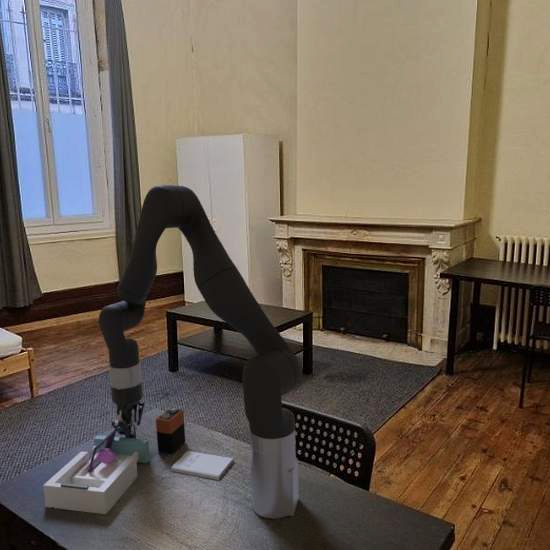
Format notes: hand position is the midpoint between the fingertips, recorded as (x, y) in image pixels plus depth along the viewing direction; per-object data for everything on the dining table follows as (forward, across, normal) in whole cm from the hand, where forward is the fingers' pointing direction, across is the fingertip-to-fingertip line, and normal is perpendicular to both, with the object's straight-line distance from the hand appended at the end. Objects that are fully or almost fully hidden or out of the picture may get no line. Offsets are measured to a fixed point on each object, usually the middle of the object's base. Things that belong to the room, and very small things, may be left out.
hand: (131, 446), depth 131 cm
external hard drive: (+2, +3, +20) cm, 21 cm away
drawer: (+1, +11, 0) cm, 11 cm away
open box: (+1, +17, 0) cm, 17 cm away
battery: (+2, -4, +9) cm, 10 cm away
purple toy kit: (0, +9, -1) cm, 9 cm away
